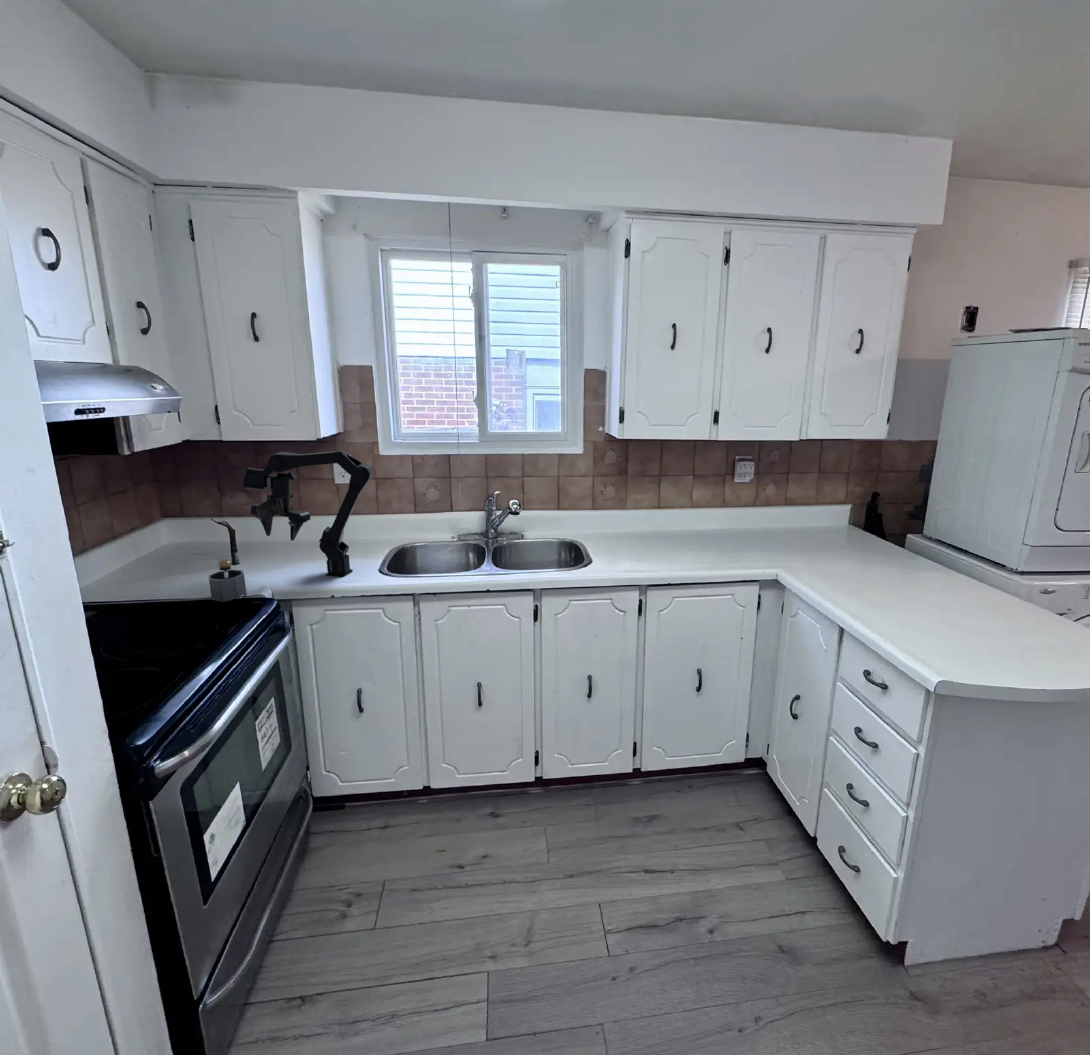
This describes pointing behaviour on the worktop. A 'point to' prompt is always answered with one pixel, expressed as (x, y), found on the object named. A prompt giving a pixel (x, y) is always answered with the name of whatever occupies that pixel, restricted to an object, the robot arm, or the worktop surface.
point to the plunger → (225, 567)
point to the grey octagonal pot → (227, 585)
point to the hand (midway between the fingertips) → (280, 538)
